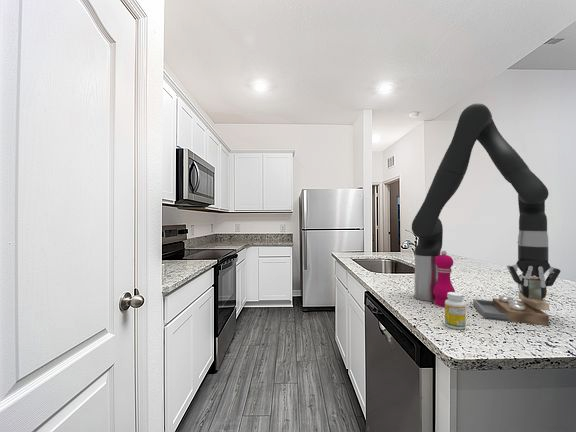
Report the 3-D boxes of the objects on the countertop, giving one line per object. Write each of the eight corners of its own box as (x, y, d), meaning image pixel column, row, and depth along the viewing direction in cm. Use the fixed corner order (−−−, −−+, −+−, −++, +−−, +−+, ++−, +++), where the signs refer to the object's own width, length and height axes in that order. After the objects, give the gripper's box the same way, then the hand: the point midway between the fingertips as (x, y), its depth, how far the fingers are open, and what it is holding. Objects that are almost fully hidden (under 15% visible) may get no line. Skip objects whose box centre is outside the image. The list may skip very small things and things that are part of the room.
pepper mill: (453, 302, 108) (452, 249, 108) (457, 308, 101) (457, 251, 101) (431, 301, 110) (431, 249, 110) (434, 306, 103) (434, 251, 103)
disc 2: (510, 306, 93) (510, 302, 93) (506, 303, 97) (506, 299, 97) (525, 308, 92) (525, 303, 92) (521, 304, 95) (520, 300, 95)
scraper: (536, 309, 87) (536, 282, 87) (518, 298, 100) (518, 275, 100) (549, 310, 86) (548, 283, 86) (529, 299, 99) (529, 276, 99)
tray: (485, 318, 91) (485, 312, 91) (473, 304, 105) (473, 299, 106) (508, 321, 88) (507, 314, 88) (492, 306, 103) (492, 300, 103)
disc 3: (512, 310, 89) (512, 305, 89) (507, 306, 93) (507, 302, 93) (527, 312, 88) (527, 307, 88) (522, 308, 92) (522, 303, 92)
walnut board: (508, 321, 88) (507, 311, 88) (492, 306, 103) (492, 298, 103) (548, 325, 85) (548, 315, 85) (526, 309, 100) (526, 301, 100)
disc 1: (500, 302, 98) (500, 298, 98) (497, 299, 102) (497, 295, 102) (514, 303, 96) (514, 299, 96) (510, 300, 100) (510, 296, 100)
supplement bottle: (464, 331, 80) (464, 297, 80) (443, 326, 84) (442, 294, 84) (467, 326, 84) (467, 293, 84) (447, 321, 88) (446, 290, 88)
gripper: (510, 244, 92) (510, 298, 92) (566, 246, 87) (567, 303, 87) (502, 243, 99) (502, 293, 99) (554, 244, 94) (554, 297, 94)
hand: (532, 297), depth 93 cm, fingers closed on scraper, 3 cm apart
